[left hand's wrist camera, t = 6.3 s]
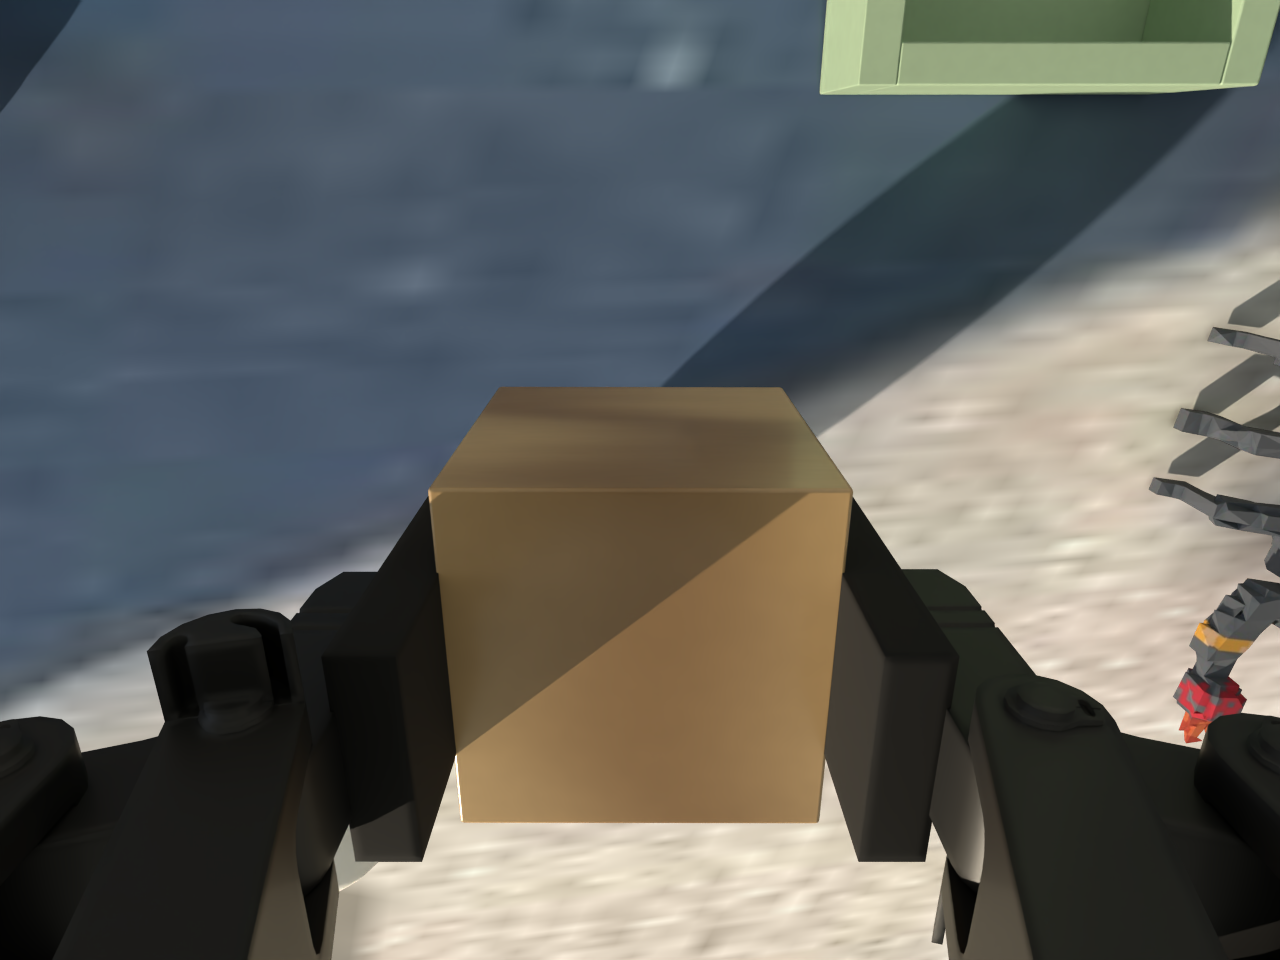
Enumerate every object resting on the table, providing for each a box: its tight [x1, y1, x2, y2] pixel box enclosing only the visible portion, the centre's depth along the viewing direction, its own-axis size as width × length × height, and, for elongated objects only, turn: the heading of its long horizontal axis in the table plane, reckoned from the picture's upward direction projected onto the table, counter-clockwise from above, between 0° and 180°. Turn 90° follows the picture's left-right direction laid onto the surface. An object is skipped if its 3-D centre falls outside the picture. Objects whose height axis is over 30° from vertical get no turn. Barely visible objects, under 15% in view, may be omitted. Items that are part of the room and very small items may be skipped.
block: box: [428, 387, 853, 823], centre depth 12 cm, size 5×5×5 cm
